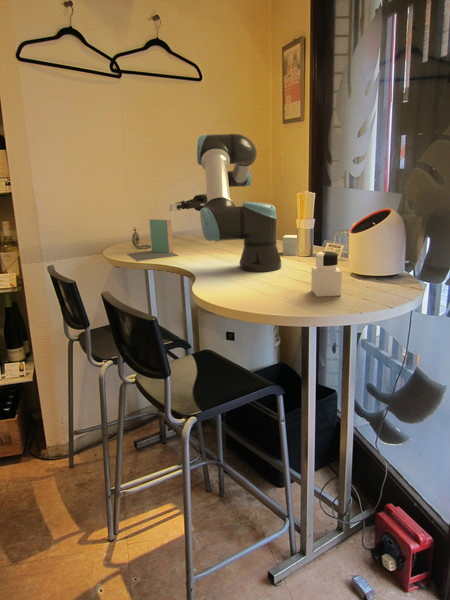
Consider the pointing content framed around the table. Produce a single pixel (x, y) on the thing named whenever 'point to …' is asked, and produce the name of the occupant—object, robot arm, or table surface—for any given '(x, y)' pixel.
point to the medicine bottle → (326, 275)
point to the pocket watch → (135, 243)
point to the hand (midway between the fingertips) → (170, 207)
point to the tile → (161, 235)
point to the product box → (290, 245)
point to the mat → (150, 255)
